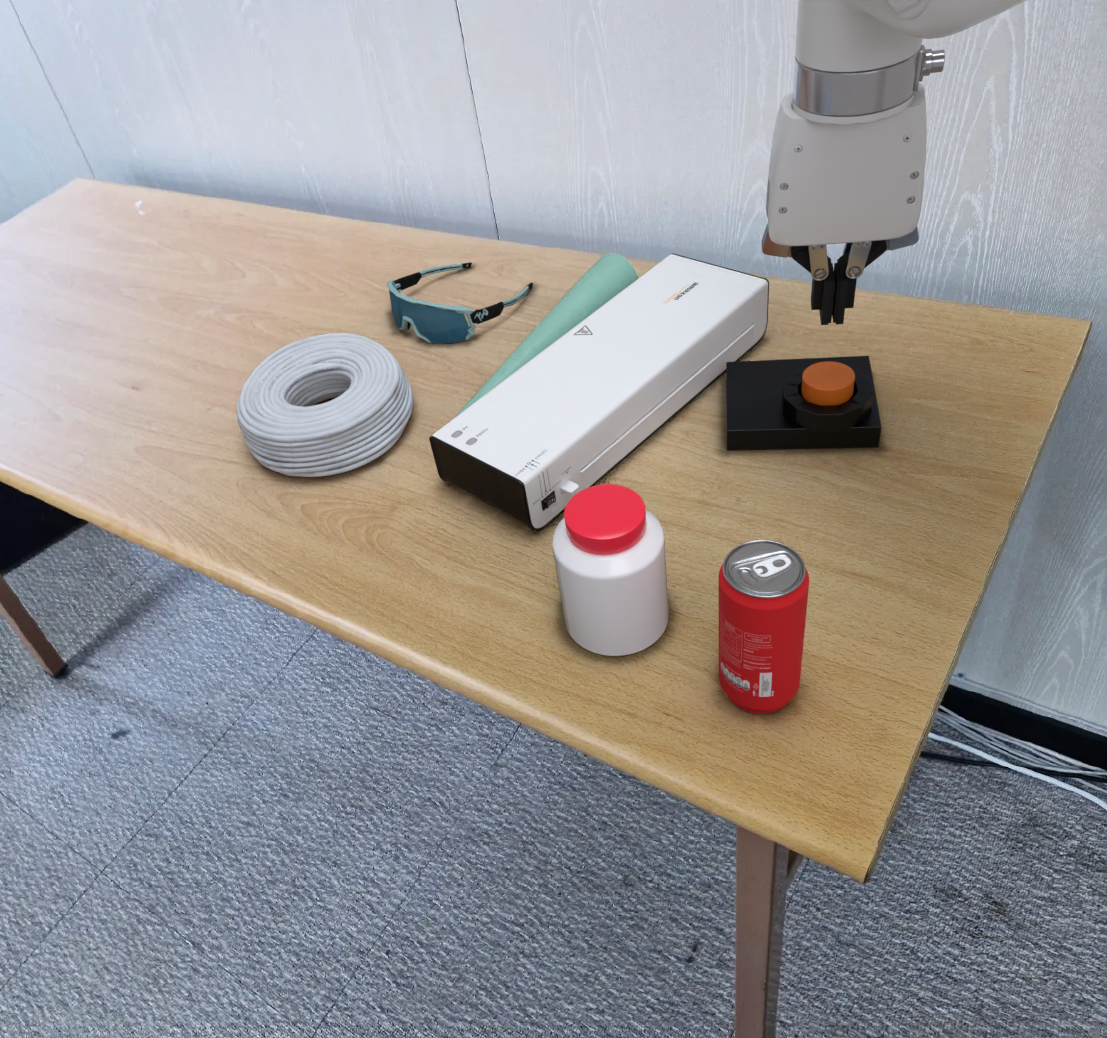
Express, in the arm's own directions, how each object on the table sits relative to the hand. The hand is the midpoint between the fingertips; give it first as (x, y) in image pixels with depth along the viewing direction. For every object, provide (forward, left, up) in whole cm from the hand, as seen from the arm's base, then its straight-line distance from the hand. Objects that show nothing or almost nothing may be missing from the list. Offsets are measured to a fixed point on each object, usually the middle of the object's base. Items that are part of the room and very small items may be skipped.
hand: (830, 314), depth 77 cm
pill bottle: (+16, +22, -11) cm, 30 cm away
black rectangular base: (+2, -2, -11) cm, 11 cm away
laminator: (+18, -3, -11) cm, 21 cm away
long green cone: (+26, -11, -11) cm, 30 cm away
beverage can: (+6, +28, -11) cm, 31 cm away
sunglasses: (+37, -23, -11) cm, 45 cm away
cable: (+46, -2, -11) cm, 47 cm away
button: (0, 0, -7) cm, 7 cm away
